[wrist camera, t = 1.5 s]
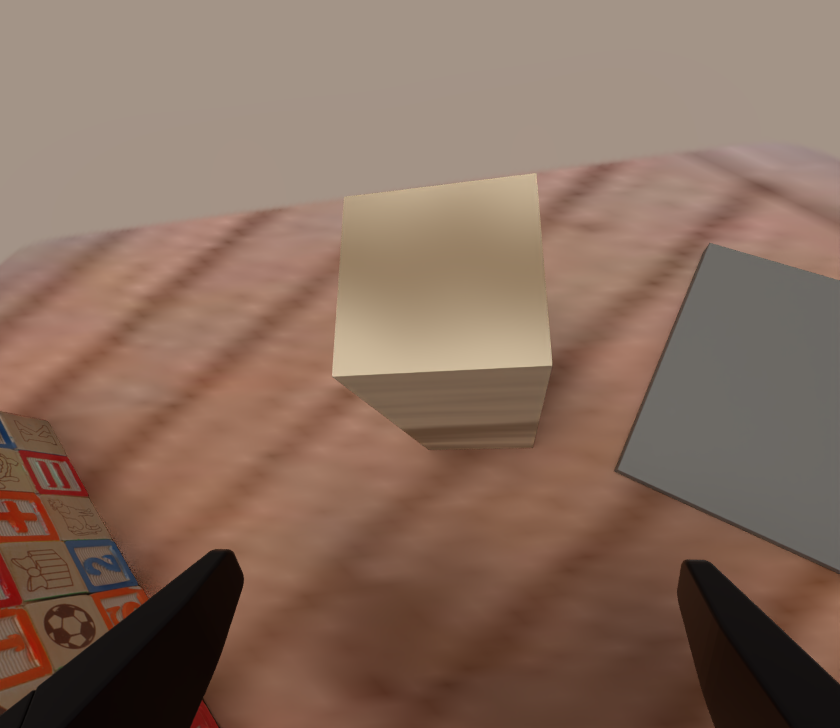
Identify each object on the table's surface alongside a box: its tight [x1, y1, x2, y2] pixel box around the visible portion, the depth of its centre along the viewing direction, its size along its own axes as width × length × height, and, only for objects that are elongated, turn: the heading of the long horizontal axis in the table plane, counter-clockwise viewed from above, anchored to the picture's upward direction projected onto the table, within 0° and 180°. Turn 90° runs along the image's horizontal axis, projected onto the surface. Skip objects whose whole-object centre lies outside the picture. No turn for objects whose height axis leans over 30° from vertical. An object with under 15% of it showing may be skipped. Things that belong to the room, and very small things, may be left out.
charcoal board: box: [614, 243, 840, 574], centre depth 20 cm, size 12×12×1 cm
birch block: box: [332, 173, 552, 450], centre depth 17 cm, size 5×5×13 cm
